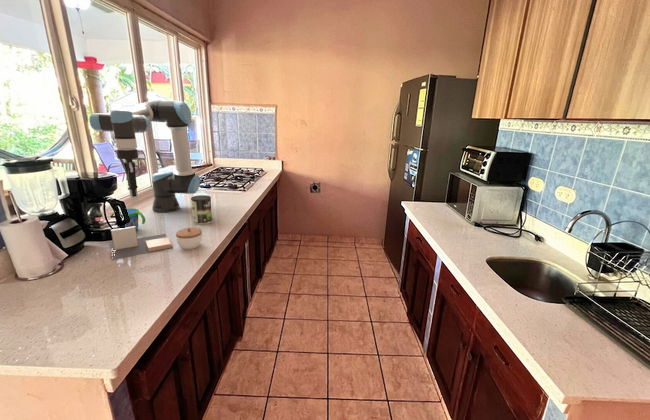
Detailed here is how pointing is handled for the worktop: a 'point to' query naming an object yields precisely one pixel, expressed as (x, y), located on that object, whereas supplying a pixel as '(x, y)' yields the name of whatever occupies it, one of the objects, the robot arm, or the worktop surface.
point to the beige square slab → (158, 244)
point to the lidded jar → (189, 238)
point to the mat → (136, 248)
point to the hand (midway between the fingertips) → (135, 202)
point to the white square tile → (124, 237)
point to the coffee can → (201, 209)
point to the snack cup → (133, 217)
